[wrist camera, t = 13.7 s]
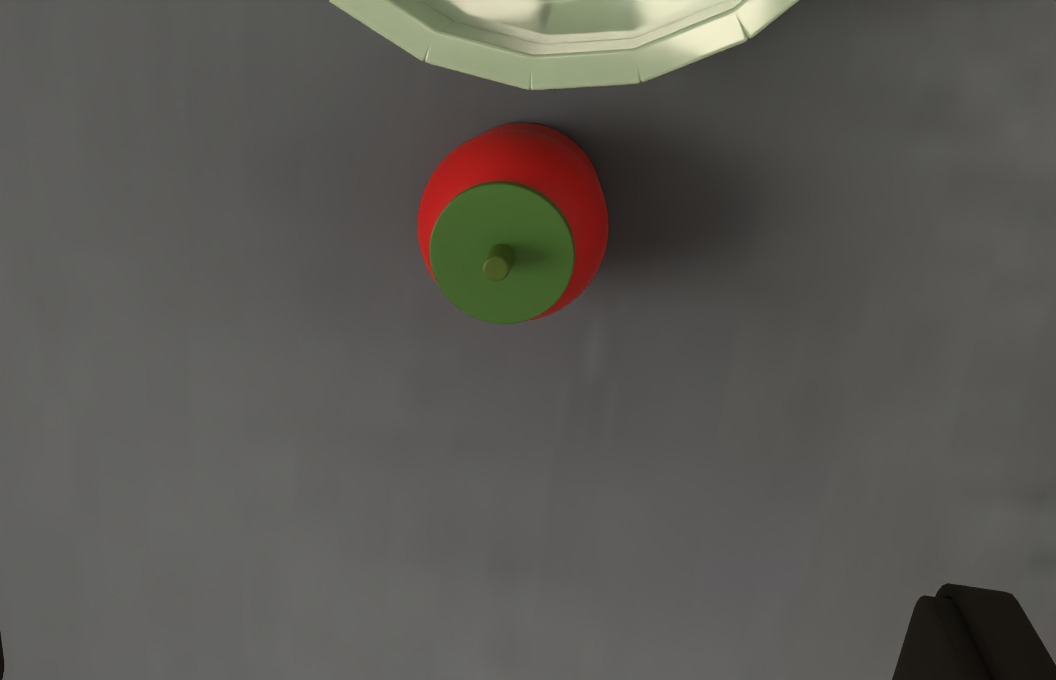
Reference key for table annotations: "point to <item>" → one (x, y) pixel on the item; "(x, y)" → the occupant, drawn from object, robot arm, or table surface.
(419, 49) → the bowl
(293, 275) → the table surface
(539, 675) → the table surface
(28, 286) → the table surface
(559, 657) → the table surface
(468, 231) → the strawberry
